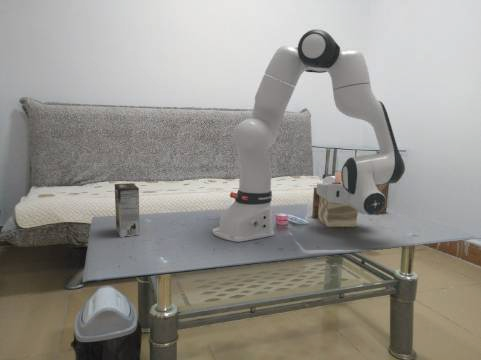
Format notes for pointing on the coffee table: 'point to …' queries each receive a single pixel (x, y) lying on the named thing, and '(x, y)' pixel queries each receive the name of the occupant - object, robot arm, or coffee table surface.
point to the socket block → (336, 214)
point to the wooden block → (384, 190)
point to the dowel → (338, 177)
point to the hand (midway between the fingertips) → (337, 185)
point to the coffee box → (127, 209)
